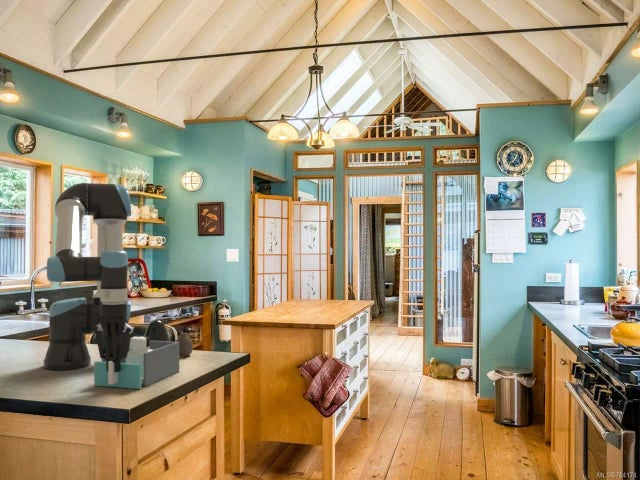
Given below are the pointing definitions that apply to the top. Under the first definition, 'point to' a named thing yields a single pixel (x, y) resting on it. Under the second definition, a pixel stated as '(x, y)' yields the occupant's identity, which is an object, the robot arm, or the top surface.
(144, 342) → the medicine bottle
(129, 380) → the tray
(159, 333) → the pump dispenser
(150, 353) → the bay
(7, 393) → the top surface
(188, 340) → the vase
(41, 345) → the top surface
